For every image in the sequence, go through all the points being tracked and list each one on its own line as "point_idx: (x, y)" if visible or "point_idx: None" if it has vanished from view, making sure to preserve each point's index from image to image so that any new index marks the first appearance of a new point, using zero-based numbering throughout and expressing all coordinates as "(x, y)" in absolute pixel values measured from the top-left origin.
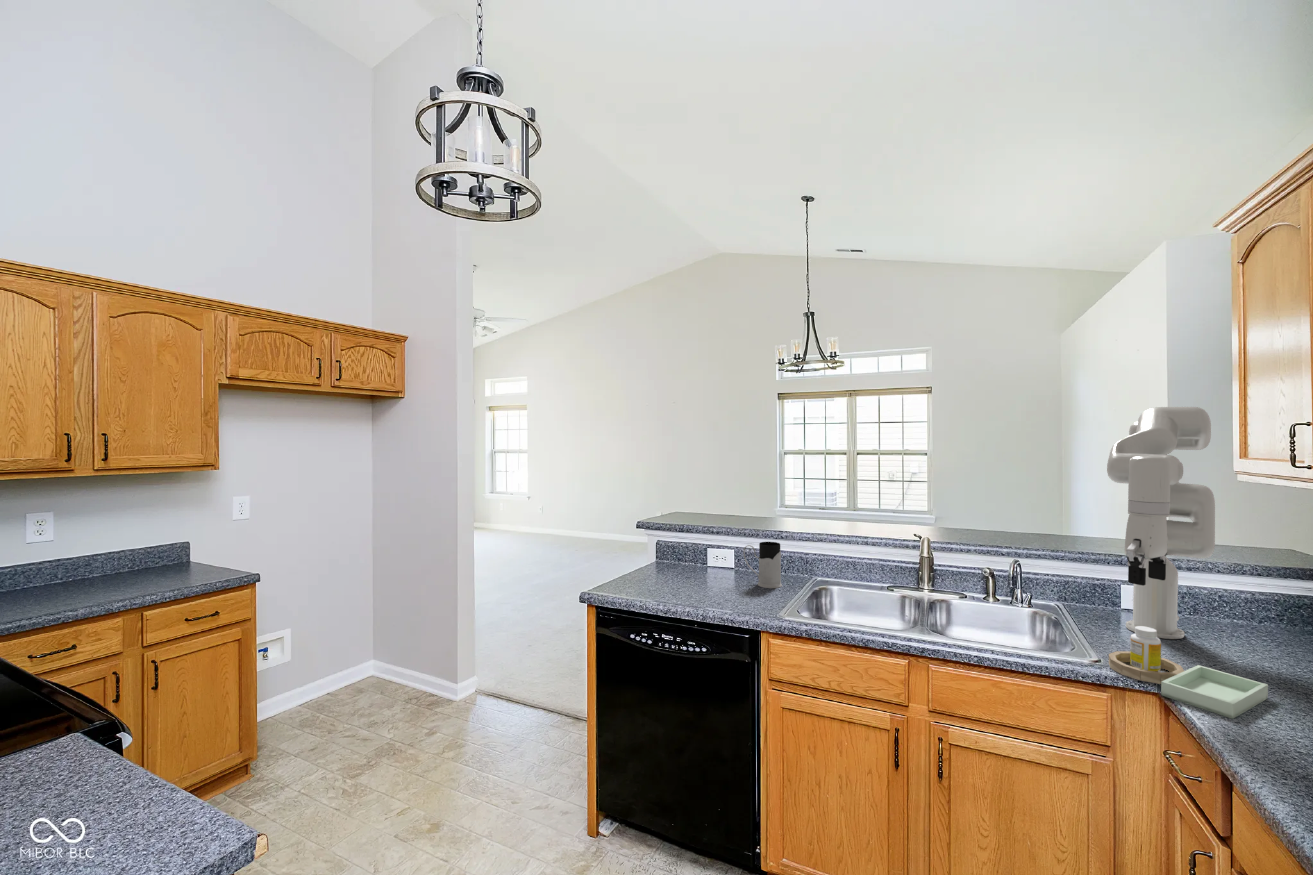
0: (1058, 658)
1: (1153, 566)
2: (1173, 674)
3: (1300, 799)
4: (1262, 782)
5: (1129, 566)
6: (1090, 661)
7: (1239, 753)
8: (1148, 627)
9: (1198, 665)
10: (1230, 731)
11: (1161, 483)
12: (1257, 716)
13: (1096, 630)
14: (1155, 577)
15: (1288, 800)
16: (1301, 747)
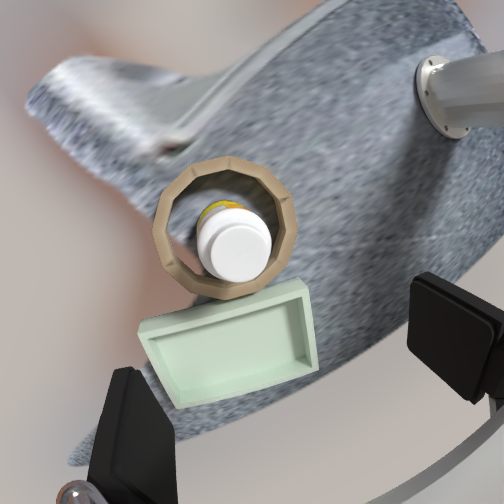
0: (100, 117)
1: (465, 341)
2: (217, 298)
3: None
4: (80, 450)
5: (94, 474)
6: (156, 147)
7: None
8: (262, 247)
9: (305, 289)
10: None
11: None
12: None
13: (361, 32)
14: (414, 316)
15: (80, 461)
16: (184, 439)
